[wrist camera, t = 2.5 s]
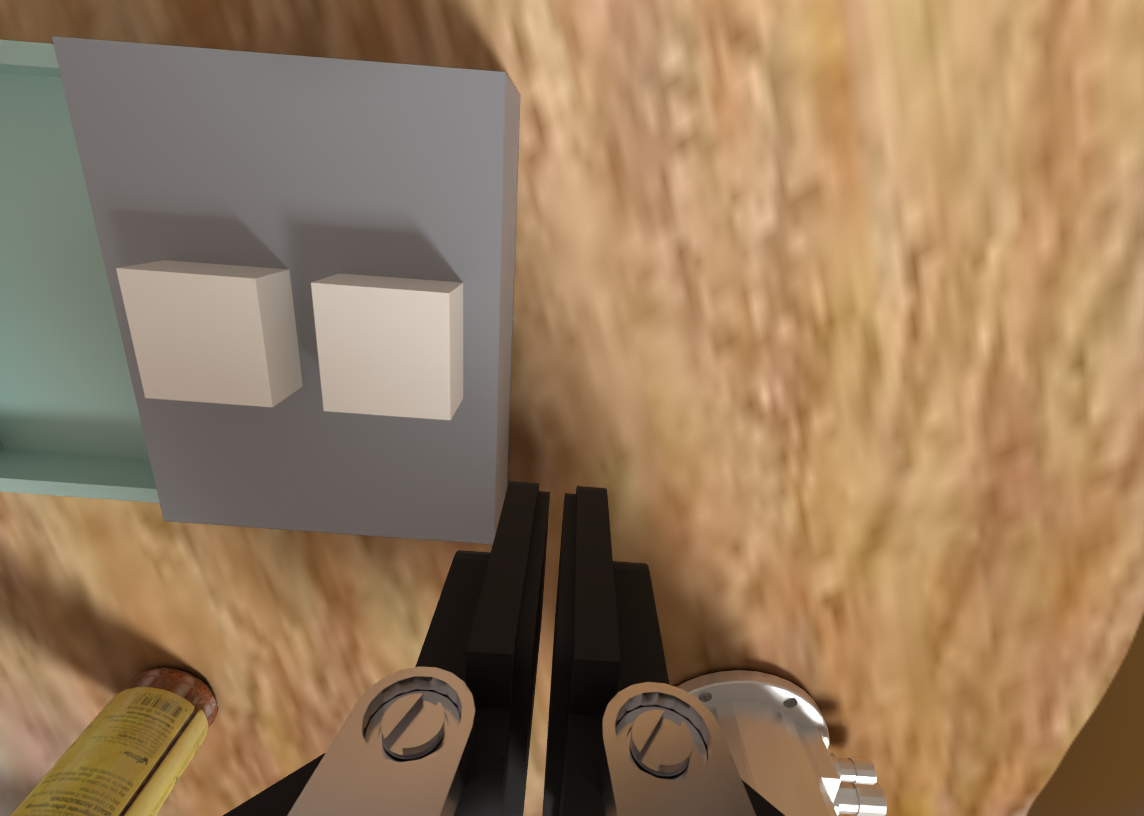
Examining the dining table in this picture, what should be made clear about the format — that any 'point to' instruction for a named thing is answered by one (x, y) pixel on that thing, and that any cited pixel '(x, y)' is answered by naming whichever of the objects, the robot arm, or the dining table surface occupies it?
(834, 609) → the dining table surface
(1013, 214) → the dining table surface
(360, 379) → the tile
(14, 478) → the box
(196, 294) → the tile
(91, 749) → the sauce bottle
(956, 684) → the dining table surface
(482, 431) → the slate block
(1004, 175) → the dining table surface
